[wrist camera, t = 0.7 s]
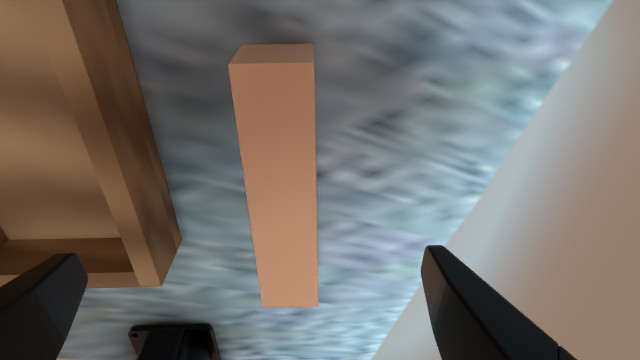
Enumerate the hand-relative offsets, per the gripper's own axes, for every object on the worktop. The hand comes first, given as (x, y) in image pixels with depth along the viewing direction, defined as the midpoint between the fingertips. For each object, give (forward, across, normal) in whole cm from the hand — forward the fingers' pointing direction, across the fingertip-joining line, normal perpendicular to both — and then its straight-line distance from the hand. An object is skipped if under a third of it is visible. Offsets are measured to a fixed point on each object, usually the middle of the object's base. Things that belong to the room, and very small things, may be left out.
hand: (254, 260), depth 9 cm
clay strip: (+12, 0, +4) cm, 13 cm away
